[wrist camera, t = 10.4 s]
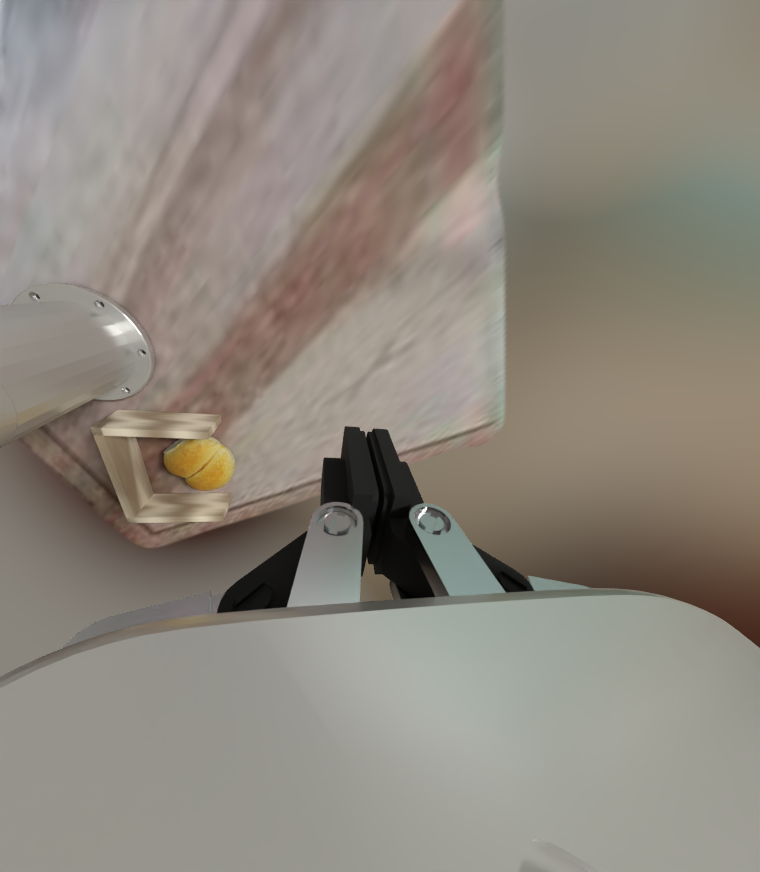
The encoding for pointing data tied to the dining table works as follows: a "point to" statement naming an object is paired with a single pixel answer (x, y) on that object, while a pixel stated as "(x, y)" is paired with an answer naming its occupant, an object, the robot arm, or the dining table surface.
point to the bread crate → (131, 473)
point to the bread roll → (200, 462)
